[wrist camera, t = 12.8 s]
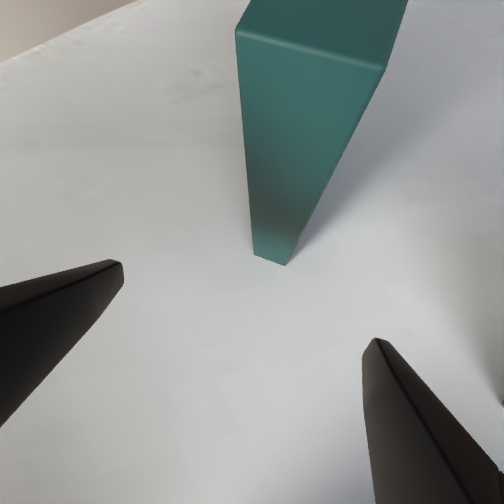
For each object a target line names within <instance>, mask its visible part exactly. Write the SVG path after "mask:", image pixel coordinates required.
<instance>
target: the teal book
mask: <svg viewBox="0 0 504 504" xmlns="http://www.w3.org/2000/svg"><path fill="white" fill-rule="evenodd" d="M407 3H408V0H251V1H250V3H249V5H248V7H247V8H246V10H245V12H244V14H243V16H242V17H241V19H240V21H239V23H238V25H237V26H236V29H235V41H236V53H237V65H238V76H239V88H240V99H241V111H242V123H243V134H244V146H245V158H246V169H247V181H248V192H249V204H250V216H251V227H252V239H253V250H254V255H257V256H259V257H262V258H265V259H267V260H270V261H273V262H275V263H278V264H281V265H283V266H285V265H286V263H287V262H288V260H289V258H290V256H291V254H292V252H293V250H294V248H295V246H296V244H297V242H298V240H299V238H300V236H301V234H302V232H303V230H304V228H305V226H306V224H307V222H308V220H309V219H310V217H311V215H312V213H313V211H314V209H315V207H316V205H317V203H318V201H319V199H320V197H321V195H322V193H323V191H324V189H325V187H326V185H327V183H328V181H329V179H330V177H331V176H332V174H333V172H334V170H335V168H336V166H337V164H338V162H339V160H340V158H341V156H342V154H343V152H344V150H345V148H346V146H347V144H348V142H349V140H350V138H351V136H352V134H353V133H354V131H355V129H356V127H357V125H358V123H359V121H360V119H361V117H362V115H363V113H364V111H365V109H366V107H367V105H368V103H369V101H370V99H371V97H372V95H373V93H374V91H375V90H376V88H377V86H378V84H379V82H380V80H381V78H382V76H383V74H384V72H385V70H386V67H387V64H388V61H389V58H390V55H391V52H392V49H393V46H394V42H395V39H396V36H397V33H398V30H399V27H400V24H401V21H402V18H403V15H404V12H405V9H406V6H407Z"/></svg>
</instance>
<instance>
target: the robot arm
mask: <svg viewBox="0 0 504 504" xmlns="http://www.w3.org/2000/svg"><path fill="white" fill-rule="evenodd" d="M123 283H124V274H123V266H122V263H121V262H119V261H115V260H112V259H108V260H104V261H100V262H96V263H93V264H89V265H85V266H81V267H77V268H73V269H69V270H66V271H62V272H58V273H54V274H50V275H46V276H42V277H38V278H35V279H31V280H27V281H23V282H19V283H15V284H11V285H7V286H4V287H0V427H1V426H2V425H3V424H4V423H5V422H6V421H7V420H8V418H9V417H10V416H11V415H12V414H13V413H14V412H15V411H16V410H17V408H18V407H19V406H20V405H21V404H22V403H23V402H24V401H25V400H26V399H27V397H28V396H29V395H30V394H31V393H32V392H33V391H34V390H35V389H36V387H37V386H38V385H39V384H40V383H41V382H42V381H43V380H44V379H45V377H46V376H47V375H48V374H49V373H50V372H51V371H52V370H53V369H54V368H55V366H56V365H57V364H58V363H59V362H60V361H61V360H62V359H63V358H64V356H65V355H66V354H67V353H68V352H69V351H70V350H71V349H72V348H73V346H74V345H75V344H76V343H77V342H78V341H79V340H80V339H81V338H82V337H83V335H84V334H85V333H86V332H87V331H88V330H89V329H90V328H91V327H92V325H93V324H94V323H95V322H96V321H97V319H98V318H99V317H100V316H101V314H102V313H103V312H104V310H105V309H106V308H107V306H108V305H109V304H110V302H111V301H112V300H113V298H114V297H115V295H116V294H117V293H118V291H119V290H120V289H121V287H122V286H123ZM362 384H363V409H364V418H365V426H366V433H367V441H368V448H369V456H370V464H371V471H372V479H373V486H374V494H375V502H376V504H504V473H503V472H502V471H499V469H498V467H497V465H496V464H495V463H494V462H493V461H492V460H491V458H490V457H489V456H488V455H487V454H486V453H485V452H484V450H483V449H482V448H481V447H480V446H479V445H478V444H477V442H476V441H475V440H474V439H473V438H472V437H471V435H470V434H469V433H468V432H467V431H466V430H465V429H464V427H463V426H462V425H461V424H460V423H459V422H458V421H457V419H456V418H455V417H454V416H453V415H452V414H451V412H450V411H449V410H448V409H447V408H446V407H445V406H444V404H443V403H442V402H441V401H440V400H439V399H438V398H437V396H436V395H435V394H434V393H433V392H432V391H431V389H430V388H429V387H428V386H427V385H426V384H425V383H424V381H423V380H422V379H421V378H420V377H419V376H418V375H417V373H416V372H415V371H414V370H413V369H412V368H411V367H410V365H409V364H408V363H407V362H406V361H405V360H404V358H403V357H402V356H401V355H400V354H399V353H398V352H397V350H396V349H395V348H394V347H393V346H392V345H391V344H390V342H388V341H386V340H383V339H380V338H373V339H372V341H371V342H370V344H369V345H368V347H367V348H366V350H365V351H364V353H363V356H362Z"/></svg>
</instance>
